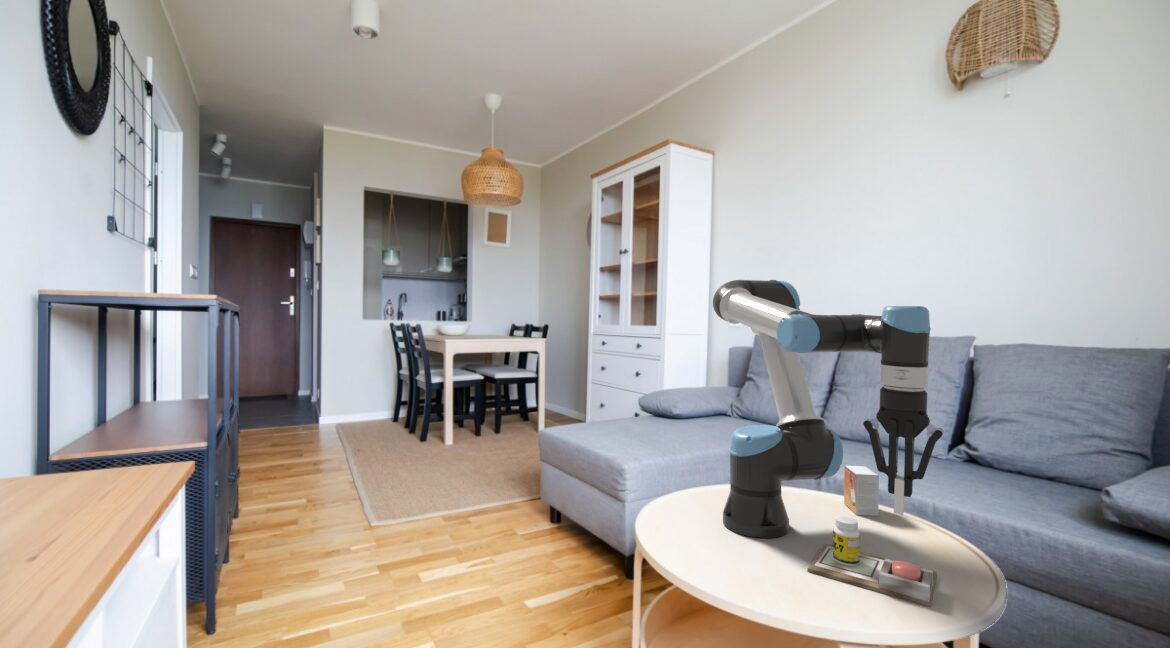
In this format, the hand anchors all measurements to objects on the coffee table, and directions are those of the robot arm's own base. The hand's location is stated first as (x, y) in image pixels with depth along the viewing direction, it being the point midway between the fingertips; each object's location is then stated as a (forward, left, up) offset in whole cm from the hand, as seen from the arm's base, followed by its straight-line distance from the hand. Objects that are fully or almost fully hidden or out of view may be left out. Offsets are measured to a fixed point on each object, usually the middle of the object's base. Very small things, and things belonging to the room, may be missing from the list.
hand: (899, 511), depth 96 cm
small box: (-13, +36, -13) cm, 40 cm away
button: (+1, -3, -12) cm, 12 cm away
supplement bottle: (-9, 0, -12) cm, 15 cm away
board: (-5, 0, -13) cm, 14 cm away
